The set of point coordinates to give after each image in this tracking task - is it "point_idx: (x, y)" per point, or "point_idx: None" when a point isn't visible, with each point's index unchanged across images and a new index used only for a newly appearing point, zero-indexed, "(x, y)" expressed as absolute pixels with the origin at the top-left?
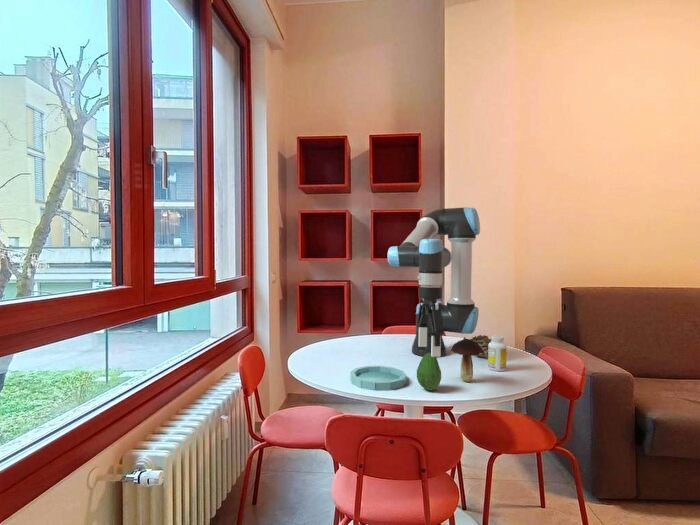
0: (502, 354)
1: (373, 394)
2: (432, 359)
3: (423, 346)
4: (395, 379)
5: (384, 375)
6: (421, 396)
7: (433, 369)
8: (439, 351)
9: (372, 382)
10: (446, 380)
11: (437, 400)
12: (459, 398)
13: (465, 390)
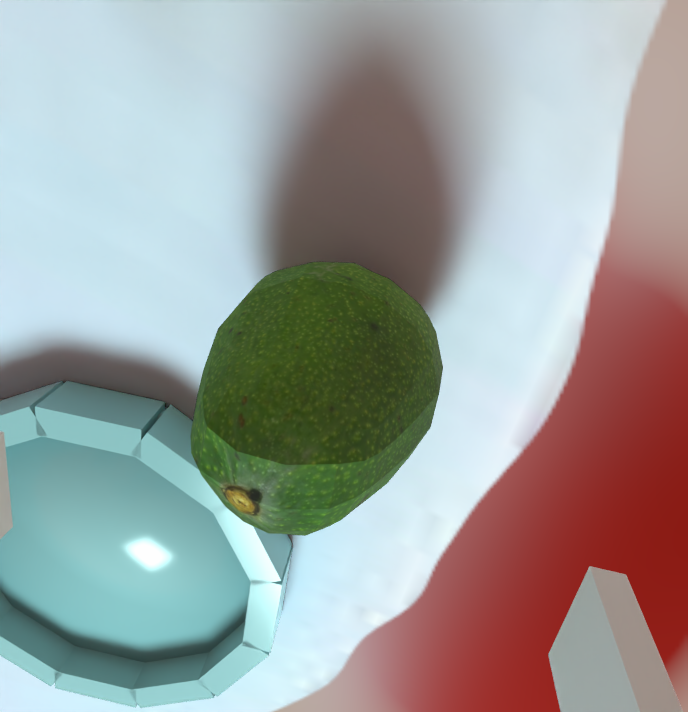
0: None
1: (337, 643)
2: (366, 473)
3: (5, 476)
4: (230, 537)
5: (51, 497)
6: (453, 437)
7: (419, 428)
8: (643, 651)
9: (258, 663)
10: (154, 45)
11: (562, 378)
12: (600, 196)
13: (452, 13)
